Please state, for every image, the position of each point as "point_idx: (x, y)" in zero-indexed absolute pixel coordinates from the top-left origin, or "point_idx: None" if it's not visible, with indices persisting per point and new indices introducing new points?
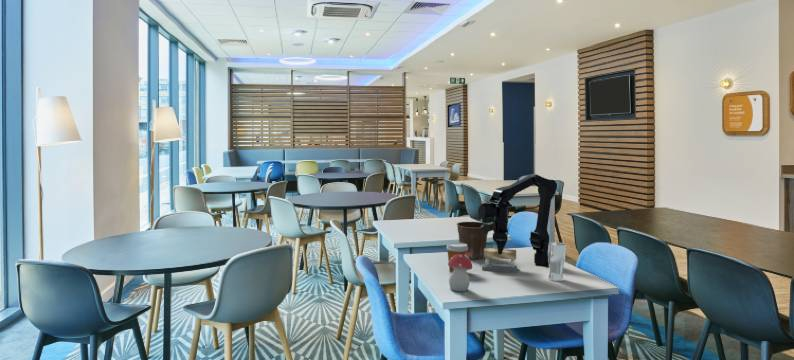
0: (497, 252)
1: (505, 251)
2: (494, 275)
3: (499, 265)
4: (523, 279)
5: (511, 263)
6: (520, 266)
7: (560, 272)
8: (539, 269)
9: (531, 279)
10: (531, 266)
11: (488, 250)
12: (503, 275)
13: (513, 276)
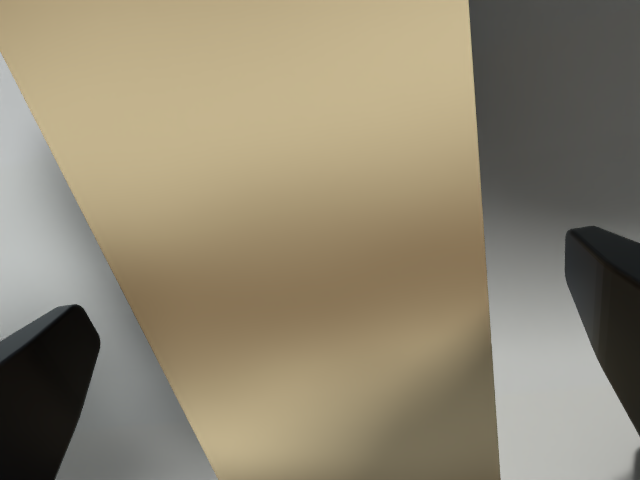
0: (127, 277)
1: (263, 413)
2: (5, 148)
3: None
4: (86, 403)
5: None
6: (574, 328)
7: None
8: (500, 470)
9: (131, 447)
10: (605, 412)
11: (103, 20)
12: (82, 238)
13: (118, 326)
